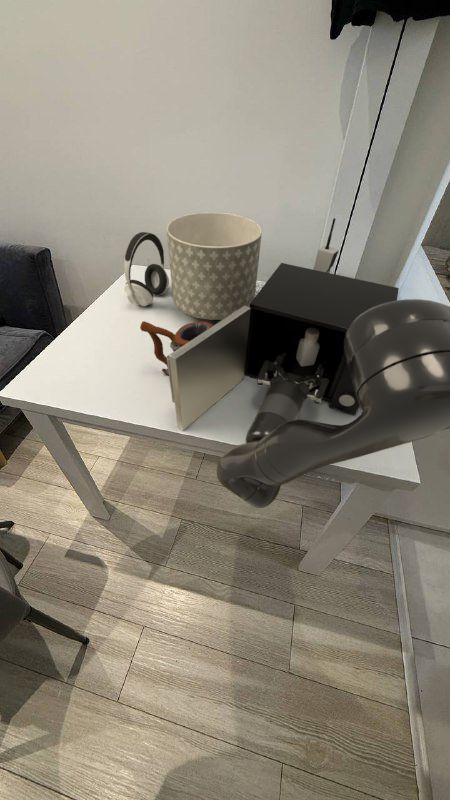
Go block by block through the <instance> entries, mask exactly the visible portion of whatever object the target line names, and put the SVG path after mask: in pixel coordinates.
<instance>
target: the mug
mask: <svg viewBox="0 0 450 800" xmlns="http://www.w3.org/2000/svg"><path fill="white" fill-rule="evenodd" d="M212 326H214V325H213V324H212V323H211V322H208V321H201V320H200V321H195V322H188V323H186V324H184V325H182V326H181V327H180V328H178V330H177V331H176V332H175V333H173V332H172V331H170V330H168V329H166V328H163V327H159V326H156V325H155V324H152V323H150V322H147V321H142V322H141V324H140V327H139V328H140V331H141V332H145V333H148V335H149V336H150V339H151V340H152V342H153V349H154V350H153V353H154V355H155V358H156V359H157V360H158V361H160V362H162V363H163V364H164V365H166V367H167V368H161V372H162V373H163V374H164V375H166V376H169V370H168V362H167V355H165V354H164V345H163V344H164V343H163V342H162V339H161V338H160V336H164V337H166V338H168V339H169V340H170V341H171V342H170V344H169V347H170V349H171V350H172V351H173V352H174V351H176V350H177V349H179V348H180V347H182V346H183V345H185V344H187V343H188V342H190V341H191V340H193V339H194V338H196V337H197V336H199V335H200V334H202V333H203V332H205V331H206V330H208V329H209V328H211V327H212ZM158 335H160V336H158Z"/></svg>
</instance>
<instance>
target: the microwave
mask: <svg viewBox="0 0 450 800" xmlns="http://www.w3.org/2000/svg"><path fill="white" fill-rule="evenodd" d="M398 296H399V287H397V286H396V287H395V286H391V285H387V284H382V283H378V282H373V281H368V280H364V279H358V278H354V277H349V276H345V275H340V274H336V273H326V272H322V271H317V270H314V269H312V268H307V267H303V266H298V265H293V264H290V263H289V264H288V263H285V262H280V264H279V265H278V266H277V268H276V269H275V270H274V272H273V273H272V274H271V276H270V277H269V278H268V279H267V280H266V282H265V283H264V285H263V286H262V287H261V289H260V290H259V291H258V292H257V293H256V294H255V298H254V299H253V300H252V302H251V303H250V307H249V308H251V311H250V321H249V331H248V341H247V352H246V362H245V372H244V377H247V378H251V379H254V380H257V381H258V375H259V373H260V371H261V369H262V366H263V364H264V362H265V361H266V360H269V361H270V362H274V361H275V360H276V358H277V356H278V355H279V354H282V353H285V358H284V361H283V363H282V365H281V367H283V369H284V371H285V373H291V374H293V375H298V376H301V377H302V378H303V377H306V376H308V375H310V376H313V375H315V373H316V371H317V368H318V366H319V364H322V367H324V371H323V374H322V377H323V378H328V379H329V383H328V386H327V388H326V391H325V393H324V395H323V398H322V400H321V402H326V403H328V404H329V405H328V407H329V408H331V409H334V410H337V411H340V412H343V413H347V414H349V415H352V416H356V415H357V413H358V410H359V409H360V405H359V402H358V399H357V396H356V393H355V390H354V386H353V383H352V380H351V377H350V373H349V370H348V367H347V364H346V359H345V354H344V337H345V334H346V331H347V329H348V327H349V325H350V324H351V323H352V322H353V320H355V319H356V318H357V317H358V316H359V315H360V314H362V313H363V312H365V311H367V310H369V309H370V308H373V307H375V306H378V305H380V304H384V303H388V302H392V301H397V300H398ZM310 327H311V328H316V329H318V330H319V332H320V334H319V337H318V340H317V342H318V343H319V345H320V347H319V351H318V354H317V357H316V361H315V364H314V365H310V366H300V364H299V362H298V361H297V359H296V354H297V350H298V346H299V342H300V340H301V339H303V338H305V333H306V330H307V328H310ZM267 375H268V376H269V379H271V378H273V377H274V374H273V372H272V371H268V374H267ZM319 388H320V386H319V385H318V386H315V387H313V388H311V389H310V392H313V391H315V390H316V389H318V390H319Z"/></svg>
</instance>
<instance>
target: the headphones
mask: <svg viewBox="0 0 450 800" xmlns="http://www.w3.org/2000/svg"><path fill="white" fill-rule="evenodd" d="M145 241H151V242H152V243H153V244H154V246H155V247H156V249H157V251H158V255H159V256H160V257H159V258H160V264H157V263H151V264H149V265H148V266H147V267H146V268H145V270H144V282H142V281H139V280H137V279H132V278H131V271H132V270H131V269H132V264H133V260H134V257H135V254H136V253H137V250H138V248H139V247H140V245H141V244H142V243H144V242H145ZM123 271H124V276H125V281H126V282H125V285H124V287H123V288H124V292H125V294H126V298H127V300H128V301H129V302H130V303H131V304H133V305H135V306H138V307H140V306H141V307H147V306H148V305H149V306H150V305H152V304H153V302H154V296H162V295H163V294H165V293H166V291H167V290H168V287H169V285H170V277H169V275H168V274H167V270H166V269H165V254H164V248H163V244H162V242H161V240H160V239H159V237H158V236H157V235H156V234H154V233H152V232H148V231H141V232H138V233H136V234H135V235H133V236H132V238H131V239H130V240H129V242H128V244H127V246H126V250H125V253H124V261H123Z"/></svg>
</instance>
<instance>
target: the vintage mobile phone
mask: <svg viewBox="0 0 450 800" xmlns="http://www.w3.org/2000/svg"><path fill="white" fill-rule="evenodd" d="M335 223H336V218H335V217H333V219H332V223H331V226H330V231H329V235H328V236H327V241H326V245H323V246H321V247H320V248H318V249H317V253H316V257H315V261H314V266H313V270H317V271H322V272H326V273H330V272H331V269H332V267H334V265H335V262H336V259H337V256H338V254H339V251H340V250H339V249H337V248H335V247H331V246H330V244H331V240H332V236H333V235H332V234H333V231H334V227H335Z"/></svg>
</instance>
